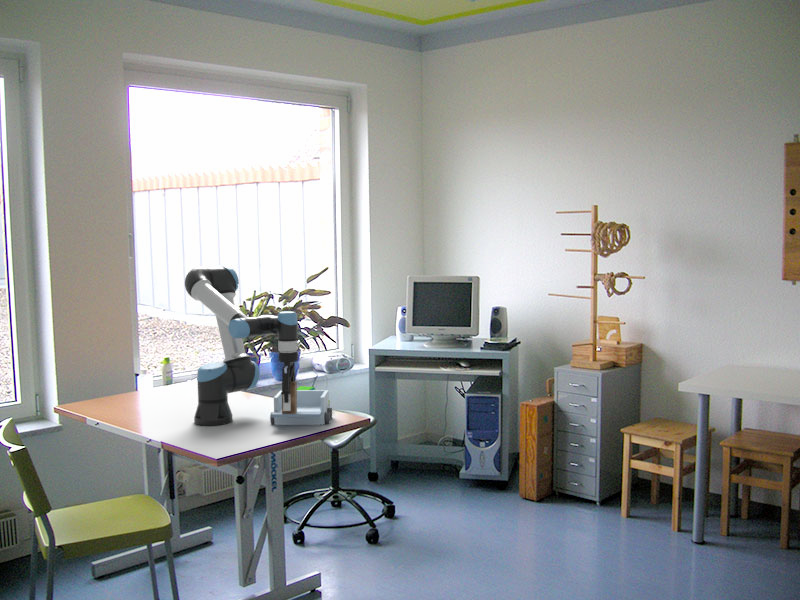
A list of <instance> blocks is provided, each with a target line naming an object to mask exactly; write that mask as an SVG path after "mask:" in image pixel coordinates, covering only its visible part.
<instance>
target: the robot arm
mask: <svg viewBox="0 0 800 600" xmlns="http://www.w3.org/2000/svg"><path fill="white" fill-rule="evenodd" d="M239 284H240V280H239V277H238V274H237V272H236V270H234V269H233V268H232V267H230V266H227V265H226V266H225V265H217V266H214V265H213V266H198V267H194V268H193V269H191V270H190V271H188V273H187V274H186V276H185V278H184V288H185V290H186V292H187V294H188V296H190V297H191V298H192V299H193V300H195V301H196V302H197V301H200V303H201V304H203V305H204V306H205V307H206V308H207V309H208V310H210V311H211V312H212V313H213V314H214V315H215V318H216V322H217V327H218V331H219V335H220V336H219V337H220V341H221V345H222V350H223V354H224V359H223V361H220V362H219V361H218V362H210V363H207V364H203V365H201V366H199V368H198V370H197V376H196V377H197V378H196V379H197V380H196V381H197V401H198V402H197V406H196V410H195V414H194V417H193V419H194V424H196V425H198V426H206V427H209V426H210V427H211V426H213V427H214V426H220V425H221V426H222V425H226V424H228V423H229V424H230V423H231V422H233V420H234V419H233V413H232V410H231V407H230V404H229V402H228V401H229V400H228V394H231V393H236V392H243V391H244V392H245V391H248V390H251V389H254V388H255V387H256V386H257V384H258V383H259V380H260V367H259V365H258V364H257V363H256V362H255V361H252V359H251V358H252V357H251V355H249V354H247V353H246V348H245V346H244V345H245V344H244V341H243V339H246V338H253V337H258V336H269V335H275V336H277V338H278V339H277V341H278V343H277V346H278V349H277V350H278V361H279V362H280V363H283V366H282V368H281V371H282V372H281V373H282V377H281V378H282V381H281V390H282V392H281V394H283V411H291V400H290V382H297V381H296V370H295V369H296V367H295V363H296V362H298V361H299V352H298V350H299V347H298V346H300V342H298V338H299V337H298V336H299V335H298V333H299V331H298V329H299V328H298V314H297V313H296V311H293V310H292V311H289V310H288V311H279V312H278V313H277V315H272V314H262V315H260V316H253V317H249V316H248V315H246V314H245V313H244V312H242V311H241V310H240V309H239V308H238V307H237V306H235V301H234V298H235V296H236V295H237V293H236V291H238V288H239Z"/></svg>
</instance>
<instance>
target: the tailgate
mask: <svg viewBox="0 0 800 600" xmlns="http://www.w3.org/2000/svg"><path fill="white" fill-rule="evenodd" d="M273 412H274V411H273ZM270 415H271V417H289V418H304V417H321V416H322V415H323V411H317V412H296V413H295V414H282V412H274V413H272V414H271V413H270Z"/></svg>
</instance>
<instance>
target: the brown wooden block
mask: <svg viewBox="0 0 800 600" xmlns="http://www.w3.org/2000/svg"><path fill="white" fill-rule="evenodd" d="M297 388H298V381H296V382H290V400H291V411H283V394H282V414H295V413H296V412H297Z"/></svg>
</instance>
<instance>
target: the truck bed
mask: <svg viewBox="0 0 800 600" xmlns="http://www.w3.org/2000/svg"><path fill="white" fill-rule="evenodd" d="M281 392H282V389H281V390H279V391H278V392H277V394H276V395H275V396H273V412H270V417H269V420H270V421H269V422H270V424H274V426H282V425H283V426H296V425H297V426H306V425H307V426H317V425H318V426H321V425H320V424H324V425H325V424H330V423H329V422H331V419H333V407H330V405H329V401H330V399H329V390H328V389H315V390H297V412H317V411H323V415H322V416H321V417H304V418H289V417H271V414H272V413H274V412H282V394H281Z"/></svg>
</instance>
